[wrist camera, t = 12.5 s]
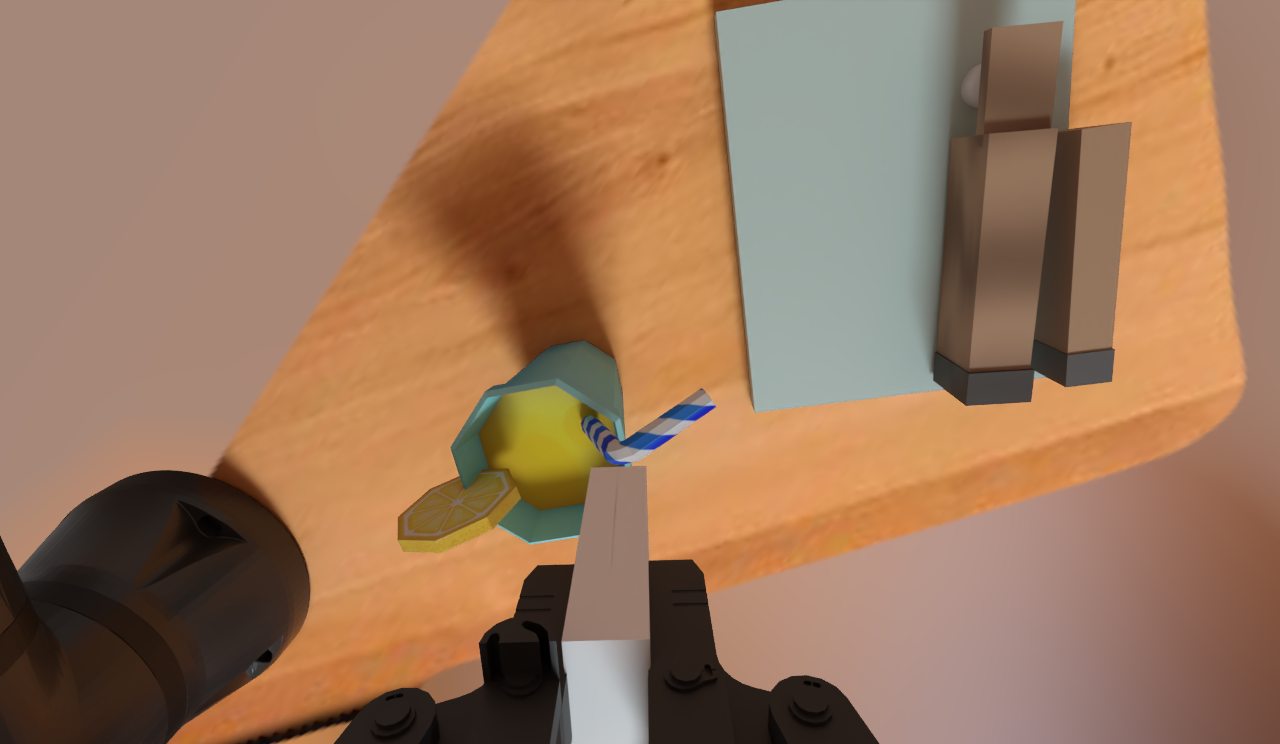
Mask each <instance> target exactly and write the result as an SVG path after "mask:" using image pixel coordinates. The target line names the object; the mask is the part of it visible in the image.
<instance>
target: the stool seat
mask: <svg viewBox="0 0 1280 744" xmlns="http://www.w3.org/2000/svg"><path fill="white" fill-rule="evenodd" d="M1075 3H1076V0H782V1H776V2H770V3H764V4H759V5H753V6H747V7H741V8H736V9H730V10H724V11H718V12H716V14H715V17H714V23H715V33H716V43H717V54H718V64H719V74H720V84H721V94H722V105H723V115H724V125H725V135H726V145H727V156H728V166H729V176H730V186H731V196H732V207H733V217H734V227H735V237H736V247H737V258H738V268H739V278H740V288H741V298H742V309H743V319H744V329H745V339H746V349H747V360H748V370H749V380H750V390H751V400H752V406H753V409H754V412H755V413H756V412H764V411H773V410H781V409H789V408H797V407H806V406H814V405H822V404H830V403H839V402H847V401H855V400H863V399H872V398H880V397H888V396H896V395H905V394H913V393H921V392H929V391H938V390H945V389H943V388H942V387H941V386H940V385H938V384H937V383H936V382H934V381H933V373H934V358H935V352H937V342H938V327H939V313H940V298H941V284H942V269H943V254H944V240H945V225H946V210H947V196H948V181H949V167H950V152H951V139H952V138H960V137H968V136H975V135H976V125H977V113H978V100H979V87H980V75H981V62H982V50H983V37H984V31H986V30H988V29H990V28H993V27H1004V26H1014V25H1025V24H1035V23H1046V22H1056V21H1063V29H1062V37H1061V46H1060V55H1059V64H1058V73H1057V81H1056V90H1055V99H1054V108H1053V117H1052V125H1051V128H1058V134H1057V143H1056V152H1055V160H1054V169H1053V177H1052V186H1051V194H1050V203H1049V211H1048V220H1047V229H1046V237H1045V246H1044V254H1043V263H1042V271H1041V280H1040V288H1039V297H1038V305H1037V314H1036V323H1035V331H1034V340H1033V348H1032V357H1031V365H1030V368H1032V369H1034V370H1035V372H1034V379H1037V378H1045V377H1047V378H1049V379H1051V380H1053V381H1055V382H1057V383H1059V384H1061V385H1063V386H1064V387H1071V386H1079V385H1088V384H1096V383H1104V382H1112V374H1113V363H1114V351H1115V349H1112V344H1113V332H1114V321H1115V309H1116V298H1117V286H1118V275H1119V263H1120V251H1121V240H1122V228H1123V217H1124V205H1125V194H1126V182H1127V170H1128V159H1129V147H1130V136H1131V124H1132V122H1126V123H1117V124H1109V125H1100V126H1091V127H1083V128H1075V129H1068V124H1069V107H1070V89H1071V72H1072V55H1073V38H1074V20H1075Z"/></svg>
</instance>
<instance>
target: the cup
mask: <svg viewBox="0 0 1280 744" xmlns="http://www.w3.org/2000/svg"><path fill="white" fill-rule="evenodd" d="M715 407H716V406H715V404H714V403H713V401H712V400H711V398H710V397H709V396H708V394H707V393H706V392H705V391H704V390H703V389H700V390H699V391H697V392H696V393H694V394H693V395H691V396H690V397H688V398H687V399H685V400H684V401H682V402H681V403H679V404H678V405H676V406H675V407H673V408H672V409H670V410H669V411H667V412H666V413H664V414H663V415H661V416H660V417H658V418H657V419H656V420H654V421H653V422H651V423H650V424H648V425H647V426H645V427H644V428H642V429H641V430H639V431H638V432H636V433H635V434H633V435H632V436H630V437H629V438H627V439H625V425H624V409H623V392H622V388H621V384H620V379H619V375H618V370H617V366H616V361H615V359H614V358H612V357H611V356H609V355H608V354H606V353H604V352H603V351H601V350H600V349H598V348H597V347H595V346H594V345H592V344H590V343H589V342H587V341H586V340H581V341H576V342H571V343H565V344H560V345H555V346H550V347H549V348H547V349H546V350H545V351H544V352H543V353H541V354H540V355H539V356H538V357H537V358H536V359H534V360H533V361H532V362H531V363H530V364H528V365H527V366H526V367H525V368H524V369H522V370H521V371H520V372H519V373H518V374H517V375H515V376H514V377H513V378H512V379H511V380H509V381H508V382H507V383H506V384H501V385H496V386H493V387H491V388H490V389H488V390H487V391H485V393H484V394H483V396H482V397H481V399H480V401H479V402H478V404H477V405H476V407H475V409H474V410H473V412H472V414H471V415H470V417H469V418H468V420H467V422H466V423H465V425H464V426H463V428H462V430H461V431H460V433H459V434H458V436H457V438H456V439H455V441H454V443H453V444H452V446H451V451H452V454H453V457H454V460H455V463H456V466H457V469H458V472H459V475H460V476H459V477H457V478H454V479H452V480H450V481H448V482H445V483H443V484H441V485H438V486H436V487H434V488H432V489H430V490H429V491H427V492H426V493H425V494H424V495H423V496H422V497H421V498H419V499H418V500H417V501H416V502H415V503H414V504H413V505H411V506H410V507H409V508H408V509H407V510H406V511H405V512H403V513H402V514H401V515H400V516H399V517H398V542H399V543H400V545H401V547H402V549H403V551H404V552H421V553H443V552H445V551H447V550H450V549H452V548H454V547H456V546H458V545H460V544H462V543H465V542H467V541H469V540H471V539H473V538H475V537H477V536H480V535H482V534H484V533H486V532H488V531H490V530H493V529H494V527H495V526H496V525H497V526H499V527H501V528H503V529H504V530H506V531H508V532H509V533H511V534H513V535H515V536H516V537H518V538H520V539H522V540H523V541H525V542H527V543H528V544H530V545H531V544H537V543H543V542H550V541H556V540H562V539H569V538H575V537H579V536H580V530H581V524H582V518H583V512H584V506H585V500H586V494H587V488H588V482H589V477H590V471H591V468H594V467H628V466H632V465H631V463H632V462H636V461H639V460H641V459H643V458H644V457H645V456H647V455H648V454H650V453H651V452H653V451H654V450H655V449H657V448H658V447H660V446H661V445H663V444H664V443H665V442H667V441H668V440H670V439H671V438H672V437H674V436H675V435H677V434H678V433H680V432H681V431H682V430H684V429H685V428H687V427H688V426H689V425H691V424H692V423H694V422H695V421H697V420H698V419H699V418H701V417H702V416H704V415H705V414H707V413H708V412H709V411H711V410H712V409H714V408H715Z"/></svg>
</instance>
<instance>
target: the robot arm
mask: <svg viewBox="0 0 1280 744" xmlns="http://www.w3.org/2000/svg"><path fill="white" fill-rule="evenodd" d="M309 601H310V586H309V578H308V574H307V570H306V567H305V563H304V561H303V558H302V556H301V554H300V552H299V550H298V548H297V546H296V544H295V542H294V541H293V539H292V538H291V536H290V535H289V533H288V532H287V531H286V530H285V528H284V527H283V526H282V525H281V523H280V522H279V521H278V520H277V519H276V518H275V517H274V516H273V515H272V514H271V513H270V512H269V511H268V510H266V509H265V508H264V507H263V506H262V505H260V504H259V503H258V502H257V501H255V500H254V499H252V498H251V497H249V496H248V495H246V494H245V493H243V492H241V491H240V490H238V489H236V488H234V487H232V486H230V485H228V484H225V483H223V482H221V481H218V480H216V479H213V478H210V477H207V476H203V475H199V474H194V473H190V472H182V471H170V470H163V471H162V470H161V471H150V472H144V473H140V474H136V475H132V476H129V477H127V478H124V479H122V480H120V481H118V482H116V483H114V484H113V485H111V486H109V487H107V488H106V489H104V490H102V491H100V492H99V493H97V494H95V495H93V496H91V497H90V498H88V499H86V500H85V501H83V502H82V503H81V504H80V505H78V506H77V507H76V508H74V509H73V510H72V511H71V512H70V513H69V514H68V515H67V516H66V517H65V518H64V519H63V520H62V522H61V523H60V524H59V525H58V527H57V528H56V529H55V530H54V531H53V532H52V533H51V534H50V535H49V536H48V537H47V538H46V540H45V541H44V542H43V543H42V544H41V545H40V546H39V547H38V548H37V550H36V551H35V552H34V553H33V554H32V555H31V556H30V557H29V559H28V560H27V561H26V562H25V563H24V564H23V565H22V567H21V568H20V569H19V570H18V571H17V570H16V568H15V566H14V564H13V562H12V560H11V558H10V556H9V554H8V552H7V550H6V547H5V545H4V543H3V541H2V539H1V536H0V744H167V743H168V741H169V740H170V739H171V738H172V737H173V736H174V735H175V733H176V732H177V731H178V730H179V729H180V728H181V727H182V726H183V725H185V724H186V723H188V722H189V721H191V720H192V719H194V718H195V717H197V716H198V715H200V714H201V713H203V712H204V711H206V710H207V709H209V708H210V707H212V706H213V705H215V704H217V703H218V702H220V701H221V700H223V699H224V698H226V697H227V696H229V695H230V694H232V693H233V692H235V691H236V690H238V689H239V688H241V687H242V686H244V685H245V684H247V683H248V682H250V681H251V680H253V679H254V678H256V677H257V676H259V675H260V674H262V673H263V672H264V671H265V670H267V669H268V668H269V667H270V666H271V665H272V664H273V663H274V662H275V661H276V660H277V659H278V658H279V656H280V655H281V654H282V653H283V651H284V650H285V649H286V648H287V646H288V645H289V644H290V643H291V641H292V640H293V639H294V638H295V636H296V635H297V634H298V632H299V631H300V629H301V627H302V625H303V623H304V621H305V618H306V615H307V612H308V608H309ZM479 648H480V655H481V663H482V670H483V677H484V685H483V686H481V687H480V688H478V689H476V690H475V691H473V692H471V693H469V694H466V695H463V696H461V697H458V698H455V699H451V700H448V701H444V702H441V703H437V704H435V701H434V700H433V698H432V697H431V696H430V694H429V693H428V692H425V691H423V690H420V689H418V688H400V689H397V690H393V691H390V692H386V693H384V694H383V695H381V696H379V697H377V698H376V699H374V700H372V701H371V702H370V703H369V704H367V705H366V706H365V707H364V708H363V709H362V710H361V711H360V712H359V713H358V714H357V716H356V717H355V718H354V719H353V720H352V722H351V723H350V724H349V725H348V727H347V728H346V729H345V730H344V732H343V733H342V734H341V735H340V737H339V738H338V739H337V740H336V741H335V743H334V744H879V743H878V741H877V740H876V738H875V737H874V735H873V734H872V733H871V731H870V730H869V728H868V727H867V725H866V724H865V723H864V721H863V720H862V718H861V717H860V716H859V714H858V713H857V711H856V710H855V708H854V707H853V706H852V704H851V703H850V701H849V700H848V698H847V697H846V696H845V695H844V694H843V693H842V692H841V691H840V690H839V689H838V688H837V687H835V686H834V685H832V684H830V683H828V682H826V681H825V680H822V679H820V678H815V677H811V676H807V675H806V676H805V675H804V676H791V677H789V678H787V679H784V680H782V681H780V682H778V684H777V685H776V686H775V687H774V688H773V689H772V691H771V692H770V691H766V690H762V689H757V688H754V687H750V686H748V685H745V684H742V683H741V682H739V681H737V680H735V679H733V678H732V677H731V676H730V675H729V674H728V673H727V672H725V671H724V669H723V668H722V666H721V665H720V663H719V661H718V658H717V655H716V649H715V643H714V636H713V630H712V624H711V618H710V612H709V606H708V599H707V593H706V586H705V580H704V574H703V572H702V571H701V570H700V569H699V567H698V566H697V565H696V564H695V563H694V561H693V560H659V561H649V539H648V508H647V477H646V466H628V467H594V468H591V471H590V477H589V482H588V488H587V494H586V500H585V506H584V512H583V518H582V524H581V530H580V536H579V541H578V547H577V553H576V559H575V564H572V565H538V566H537V567H536V568H535V569H534V570H533V571H532V572H531V573H530V574H529V575H528V577H527V578H526V579H525V580H524V583H523V587H522V590H521V594H520V599H519V601H518V604H517V608H516V613H515V615H514V618H509V619H507V620H505V621H502V622H500V623H498V624H496V625H495V626H493V627H492V628H491V629H490V630H488V631H487V632H486V633H485V634H484V636H483V637H482V639H481V641H480V642H479Z"/></svg>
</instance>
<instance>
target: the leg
mask: <svg viewBox="0 0 1280 744" xmlns="http://www.w3.org/2000/svg"><path fill="white" fill-rule="evenodd" d="M1062 29H1063V21H1056V22H1046V23H1035V24H1025V25H1014V26H1004V27H993V28H990V29H988V30H986V31H984V37H983V50H982V62H981V75H980V87H979V100H978V113H977V125H976V135H975V136H968V137H960V138H952V139H951V152H950V167H949V181H948V196H947V210H946V225H945V240H944V254H943V269H942V284H941V298H940V313H939V327H938V342H937V352H935V358H934V373H933V381H934V382H936V383H937V384H938V385H940V386H941V387H942V388H943V389H945V390H946V391H947V392H949V393H950V394H951V395H953V396H954V397H955V398H957V399H958V400H959V401H960V402H962V403H963V404H964V405H966V406H970V405H987V404H1004V403H1020V402H1031V397H1032V389H1033V380H1034V372H1035V370H1034V369H1032V368H1030V365H1031V357H1032V348H1033V340H1034V331H1035V323H1036V314H1037V305H1038V297H1039V288H1040V280H1041V271H1042V263H1043V254H1044V246H1045V237H1046V229H1047V220H1048V211H1049V203H1050V194H1051V186H1052V177H1053V169H1054V160H1055V152H1056V143H1057V134H1058V128H1051V125H1052V117H1053V108H1054V99H1055V90H1056V81H1057V73H1058V64H1059V55H1060V46H1061V37H1062Z"/></svg>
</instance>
